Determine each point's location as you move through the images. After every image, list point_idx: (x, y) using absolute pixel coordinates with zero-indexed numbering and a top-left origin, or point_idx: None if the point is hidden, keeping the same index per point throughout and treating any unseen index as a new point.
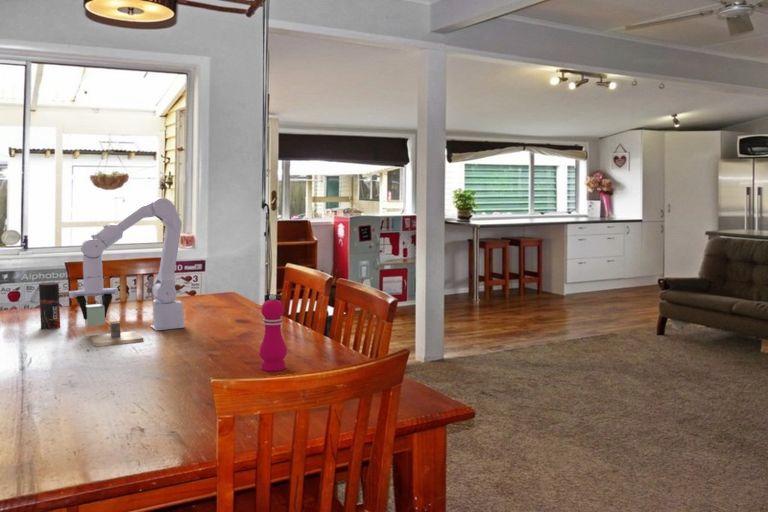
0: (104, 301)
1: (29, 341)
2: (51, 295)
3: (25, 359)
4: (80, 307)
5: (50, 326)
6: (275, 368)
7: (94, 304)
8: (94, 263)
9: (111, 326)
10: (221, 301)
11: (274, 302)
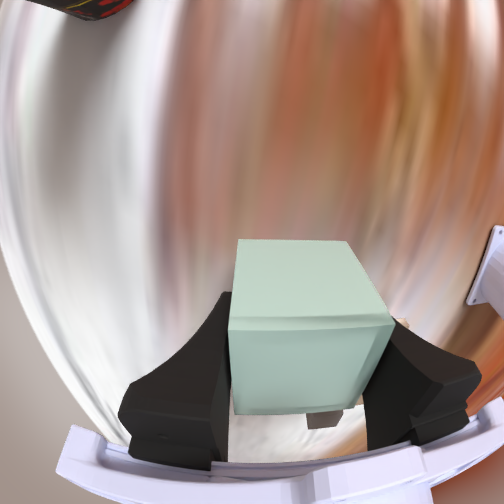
0: (368, 426)
1: (41, 255)
2: None
3: (102, 407)
4: (189, 344)
5: (92, 16)
6: None
7: (328, 339)
8: None
9: (308, 415)
10: None
11: None
